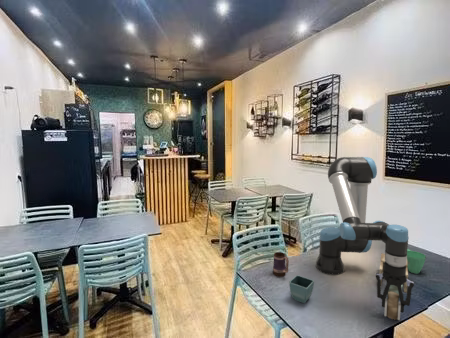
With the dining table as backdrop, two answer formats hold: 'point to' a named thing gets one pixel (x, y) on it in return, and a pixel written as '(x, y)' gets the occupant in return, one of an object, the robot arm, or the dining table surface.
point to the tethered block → (392, 302)
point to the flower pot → (301, 288)
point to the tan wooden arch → (383, 270)
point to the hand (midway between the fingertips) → (391, 316)
